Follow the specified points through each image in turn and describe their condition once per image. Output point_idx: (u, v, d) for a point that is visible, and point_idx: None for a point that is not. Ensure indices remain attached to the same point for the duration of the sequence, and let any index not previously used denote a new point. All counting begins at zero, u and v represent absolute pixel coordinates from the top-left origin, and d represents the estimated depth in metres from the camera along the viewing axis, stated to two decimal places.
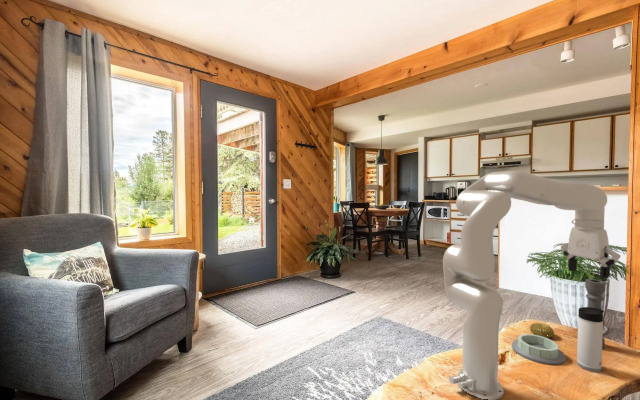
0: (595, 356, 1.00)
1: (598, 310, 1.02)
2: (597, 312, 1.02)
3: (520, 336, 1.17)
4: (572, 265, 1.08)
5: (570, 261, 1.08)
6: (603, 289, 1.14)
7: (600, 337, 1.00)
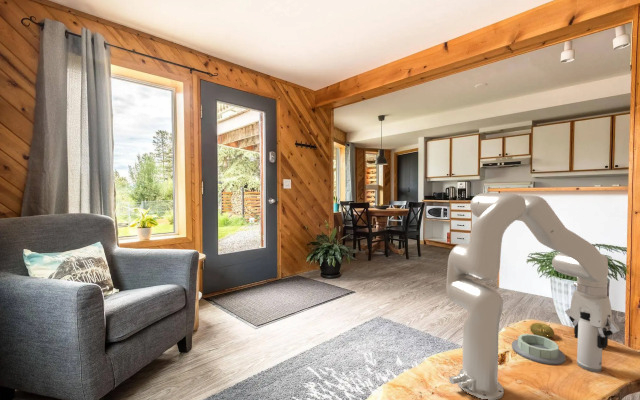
0: (595, 356, 1.00)
1: None
2: None
3: (520, 336, 1.17)
4: None
5: (576, 328, 1.06)
6: None
7: None
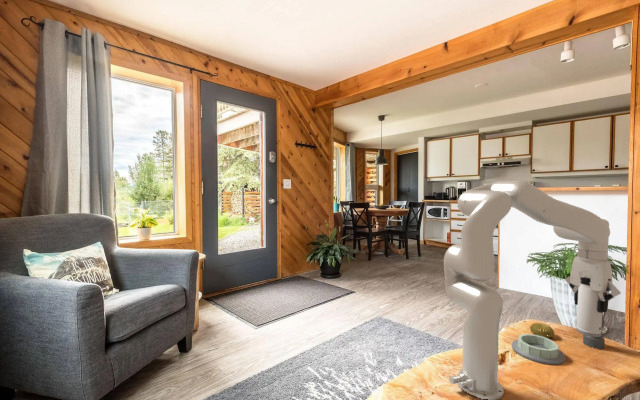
0: (595, 321, 0.99)
1: None
2: None
3: (520, 336, 1.17)
4: None
5: (576, 295, 1.05)
6: None
7: None
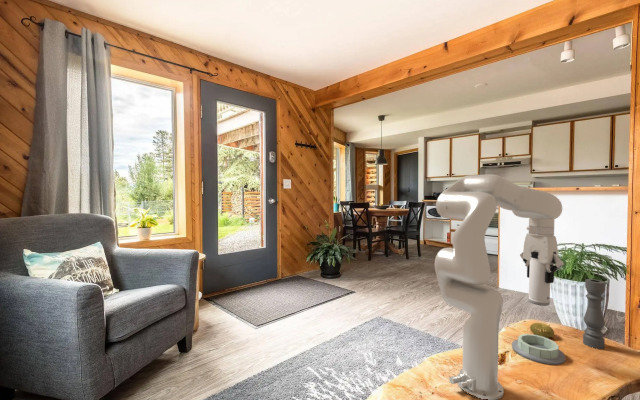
0: (543, 291, 1.08)
1: None
2: None
3: (520, 336, 1.17)
4: None
5: (528, 268, 1.14)
6: (603, 289, 1.14)
7: None
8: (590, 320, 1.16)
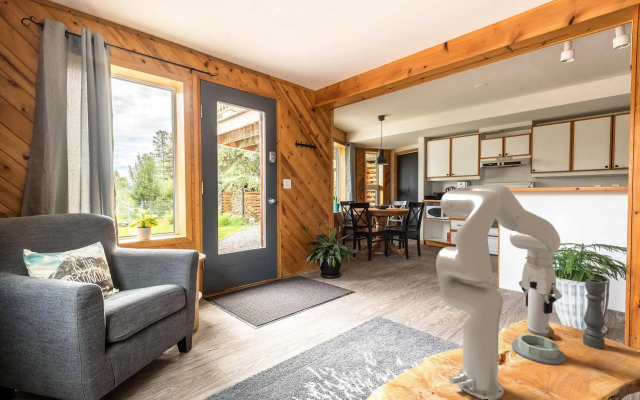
0: (542, 321, 1.09)
1: None
2: None
3: (520, 336, 1.17)
4: None
5: (527, 297, 1.15)
6: (603, 289, 1.14)
7: None
8: (590, 320, 1.16)
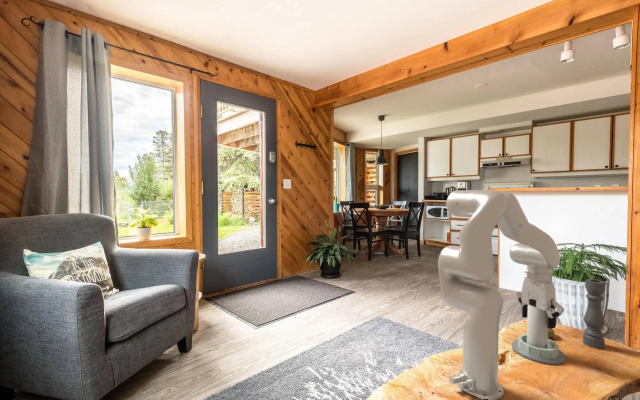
0: (541, 339, 1.09)
1: None
2: None
3: (520, 336, 1.17)
4: (525, 312, 1.16)
5: (523, 308, 1.16)
6: (603, 289, 1.14)
7: (546, 322, 1.09)
8: (590, 320, 1.16)
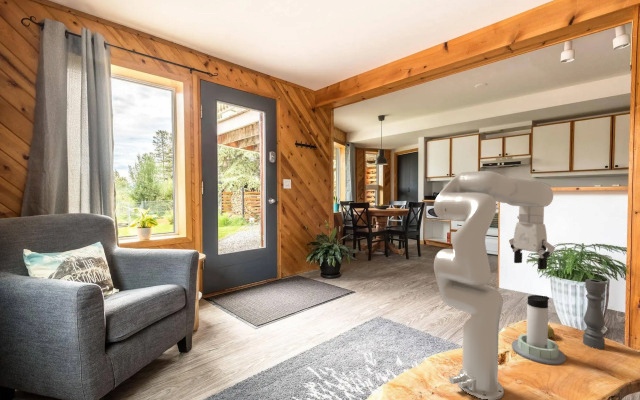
0: (541, 339, 1.09)
1: (544, 297, 1.12)
2: (543, 299, 1.11)
3: (520, 336, 1.17)
4: (517, 257, 1.17)
5: (515, 254, 1.17)
6: (603, 289, 1.14)
7: (545, 322, 1.09)
8: (590, 320, 1.16)
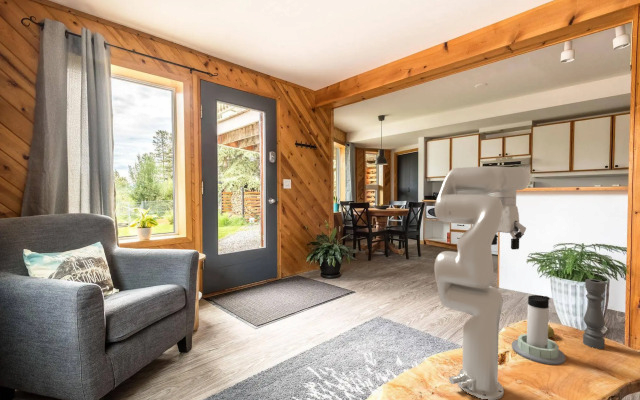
0: (541, 339, 1.09)
1: (545, 298, 1.11)
2: (544, 299, 1.11)
3: (520, 336, 1.17)
4: (492, 239, 1.21)
5: None
6: (603, 289, 1.14)
7: (546, 322, 1.09)
8: (590, 320, 1.16)
